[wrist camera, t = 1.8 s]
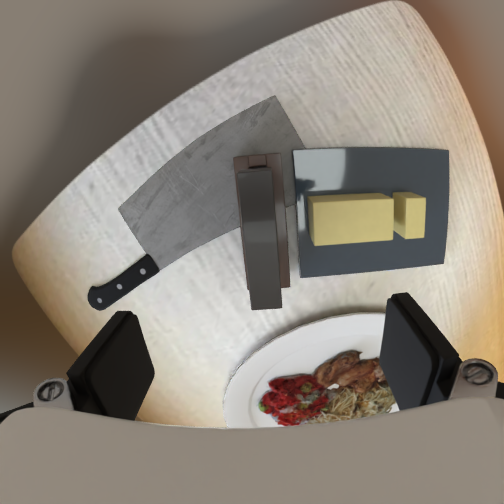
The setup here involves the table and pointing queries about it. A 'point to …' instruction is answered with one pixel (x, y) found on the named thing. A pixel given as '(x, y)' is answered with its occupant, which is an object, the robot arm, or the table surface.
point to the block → (276, 165)
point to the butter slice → (409, 215)
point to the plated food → (313, 376)
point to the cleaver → (199, 193)
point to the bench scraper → (260, 237)
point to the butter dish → (372, 181)
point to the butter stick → (350, 218)
